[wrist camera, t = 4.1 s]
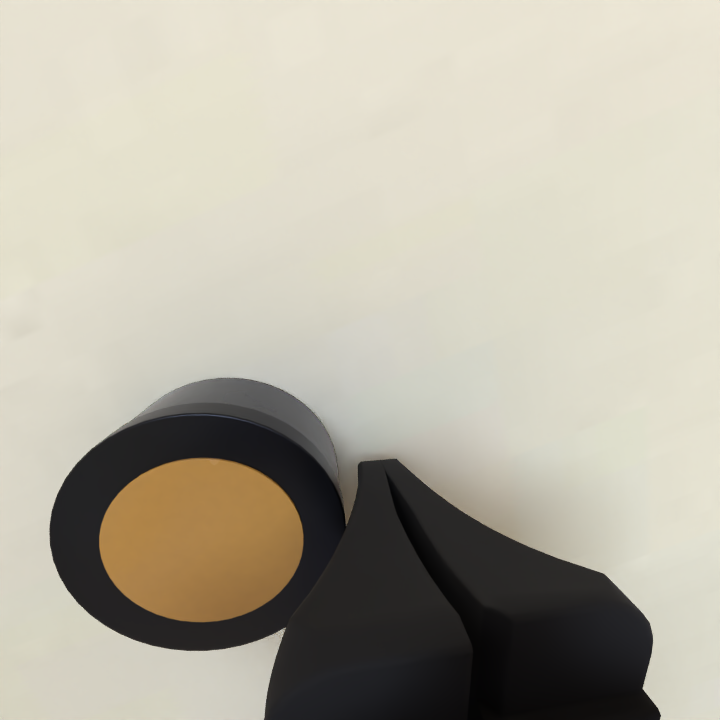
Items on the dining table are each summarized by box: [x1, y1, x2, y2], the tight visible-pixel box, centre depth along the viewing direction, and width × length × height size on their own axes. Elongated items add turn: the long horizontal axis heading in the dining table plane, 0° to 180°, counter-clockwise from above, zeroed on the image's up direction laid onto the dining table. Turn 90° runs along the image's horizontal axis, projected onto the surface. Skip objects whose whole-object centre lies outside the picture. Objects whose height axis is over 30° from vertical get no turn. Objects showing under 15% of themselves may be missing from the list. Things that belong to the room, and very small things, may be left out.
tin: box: [50, 378, 346, 651], centre depth 11 cm, size 8×8×3 cm
